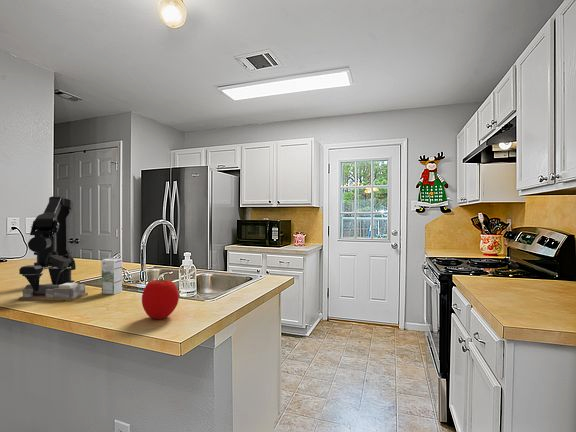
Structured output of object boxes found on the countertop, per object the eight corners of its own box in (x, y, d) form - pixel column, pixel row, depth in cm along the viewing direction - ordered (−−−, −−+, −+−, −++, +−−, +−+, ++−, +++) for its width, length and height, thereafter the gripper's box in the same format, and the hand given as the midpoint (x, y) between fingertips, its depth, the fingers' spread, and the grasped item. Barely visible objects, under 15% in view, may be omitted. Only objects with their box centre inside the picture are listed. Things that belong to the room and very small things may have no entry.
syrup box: (122, 291, 138) (122, 257, 137) (113, 295, 132) (113, 259, 132) (110, 291, 138) (110, 257, 138) (100, 294, 132) (100, 259, 132)
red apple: (134, 318, 103) (134, 279, 103) (164, 310, 112) (164, 274, 112) (155, 326, 97) (155, 283, 97) (185, 316, 106) (185, 277, 106)
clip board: (37, 294, 132) (37, 283, 132) (87, 294, 132) (87, 284, 131) (18, 300, 123) (18, 288, 123) (72, 300, 123) (72, 289, 122)
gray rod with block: (23, 295, 125) (23, 284, 125) (32, 293, 130) (32, 282, 130) (69, 296, 125) (70, 285, 125) (77, 293, 129) (77, 282, 129)
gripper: (47, 252, 118) (47, 294, 118) (81, 246, 136) (81, 283, 136) (18, 252, 118) (18, 294, 118) (55, 246, 136) (55, 283, 137)
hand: (45, 288), depth 127 cm, fingers open, 9 cm apart
